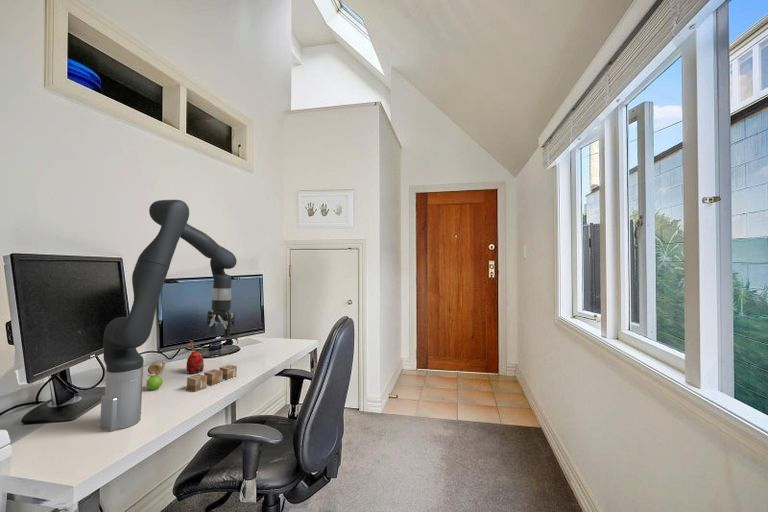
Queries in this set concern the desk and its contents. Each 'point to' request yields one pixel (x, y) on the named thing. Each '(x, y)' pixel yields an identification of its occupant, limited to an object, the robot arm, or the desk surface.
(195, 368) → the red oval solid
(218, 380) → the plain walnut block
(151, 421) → the desk surface
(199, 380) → the numeral 1 block
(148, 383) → the snail figurine
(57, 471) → the desk surface
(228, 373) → the numeral 7 block
